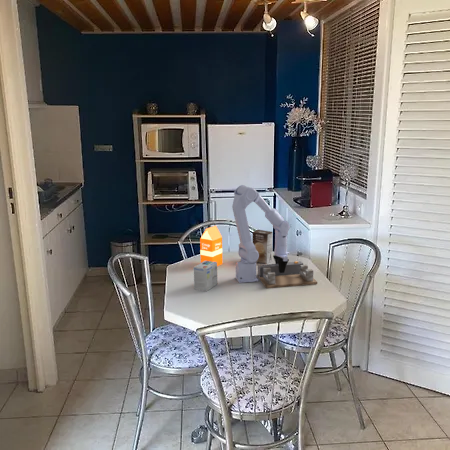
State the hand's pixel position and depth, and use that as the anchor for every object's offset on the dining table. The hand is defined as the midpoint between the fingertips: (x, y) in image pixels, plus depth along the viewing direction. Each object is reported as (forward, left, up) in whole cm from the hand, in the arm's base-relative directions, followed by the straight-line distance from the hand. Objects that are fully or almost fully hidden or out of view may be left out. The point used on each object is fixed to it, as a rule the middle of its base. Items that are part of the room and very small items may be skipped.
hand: (280, 271), depth 229 cm
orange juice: (-30, +22, -2) cm, 37 cm away
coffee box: (-3, +22, -2) cm, 22 cm away
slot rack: (0, -11, -1) cm, 11 cm away
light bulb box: (-38, -9, -2) cm, 39 cm away
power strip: (0, 0, -2) cm, 2 cm away
